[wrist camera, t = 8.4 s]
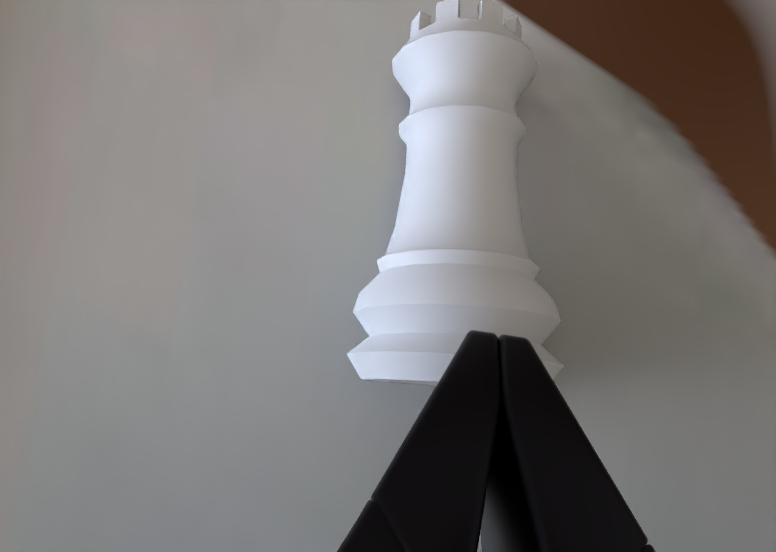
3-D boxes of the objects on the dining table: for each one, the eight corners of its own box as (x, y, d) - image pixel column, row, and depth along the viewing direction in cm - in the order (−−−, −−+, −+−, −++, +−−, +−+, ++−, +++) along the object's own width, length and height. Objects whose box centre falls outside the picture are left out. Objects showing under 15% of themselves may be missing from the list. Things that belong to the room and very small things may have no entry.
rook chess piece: (298, 375, 13) (327, 10, 15) (419, 385, 17) (433, 91, 18) (503, 382, 11) (513, -62, 12) (595, 393, 14) (594, 49, 16)
